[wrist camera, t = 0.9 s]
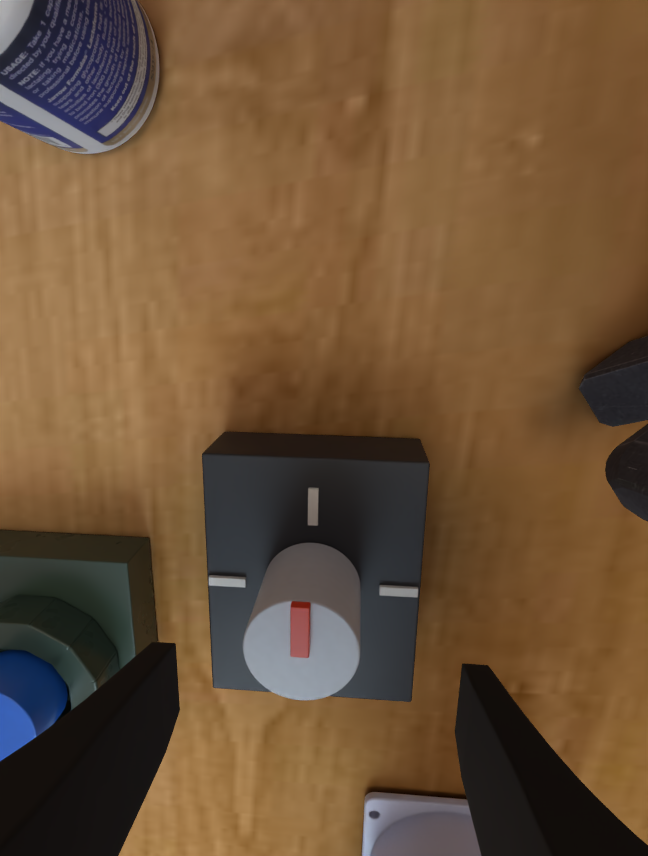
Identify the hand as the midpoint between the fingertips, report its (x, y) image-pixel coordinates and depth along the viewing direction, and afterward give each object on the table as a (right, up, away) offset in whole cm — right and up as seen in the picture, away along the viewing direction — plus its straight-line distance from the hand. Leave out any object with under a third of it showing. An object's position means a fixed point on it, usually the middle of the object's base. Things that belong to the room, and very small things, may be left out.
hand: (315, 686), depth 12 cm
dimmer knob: (0, +1, +6) cm, 6 cm away
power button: (-12, -4, +8) cm, 15 cm away
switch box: (-12, -3, +11) cm, 16 cm away
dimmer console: (0, +1, +9) cm, 9 cm away
